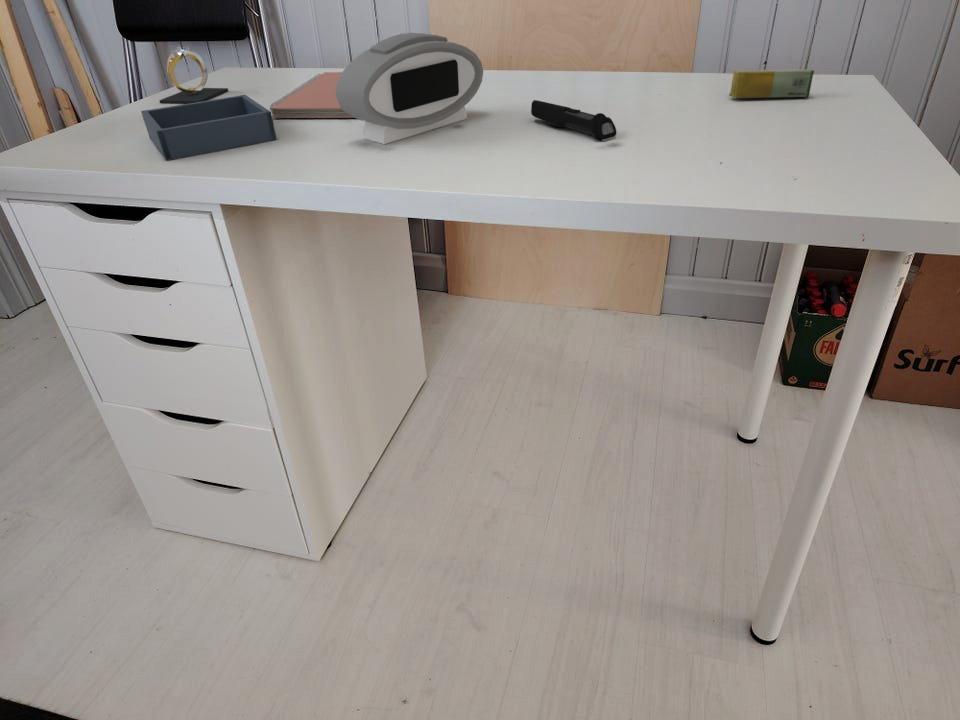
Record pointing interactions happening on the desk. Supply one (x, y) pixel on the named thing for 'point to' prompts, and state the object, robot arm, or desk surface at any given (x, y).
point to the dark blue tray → (208, 126)
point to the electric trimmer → (575, 119)
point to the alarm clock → (409, 85)
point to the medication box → (771, 83)
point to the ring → (178, 56)
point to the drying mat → (194, 96)
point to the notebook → (311, 100)
